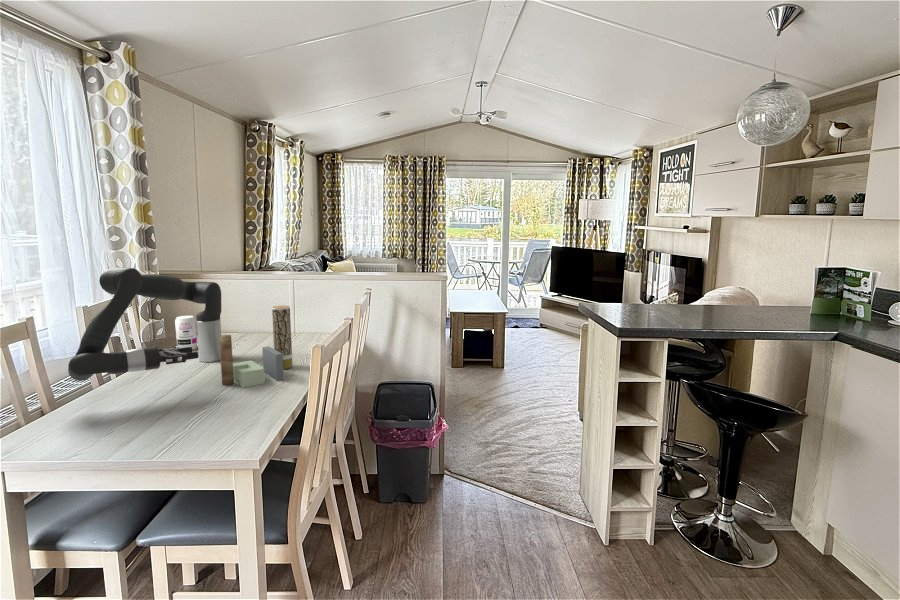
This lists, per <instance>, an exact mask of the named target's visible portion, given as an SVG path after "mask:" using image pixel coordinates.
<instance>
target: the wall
mask: <svg viewBox="0 0 900 600" xmlns="http://www.w3.org/2000/svg"><path fill="white" fill-rule="evenodd" d="M262 361H263V362H262V363H263V367H262V368H264V374H266V375H268V376H269V377H270V378H272V379H273V380H275V381H282V380H283V381H284V369H283V359H282V353H280V352H278V351H276V350H275V349H274V347H271V346H269V345H268V346H263V347H262Z"/></svg>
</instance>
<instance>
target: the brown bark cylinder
mask: <svg viewBox="0 0 900 600" xmlns="http://www.w3.org/2000/svg"><path fill="white" fill-rule="evenodd" d="M271 310H272V311H271V313H272V332H273V333H272V334H273V349H275V350H276V351H278V352H280V353H282V359H283V370H288V369H291V368H292V367H293V347H292V346H293V345H292V321H291V306H290V305H285V304H284V305H283V304H281V305H274V306H272V307H271Z"/></svg>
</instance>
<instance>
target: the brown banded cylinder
mask: <svg viewBox="0 0 900 600" xmlns="http://www.w3.org/2000/svg"><path fill="white" fill-rule="evenodd" d="M232 341H233V340H232V335H231V334H221V336H219V343H220V358H221V360H220V368H221V369H220V370H221V373H220V374H221V384H222V386H225V387H231V386H233V385H235V381H234V374H233V363H234V360H233V359H234V358H233V344H232Z"/></svg>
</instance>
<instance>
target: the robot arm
mask: <svg viewBox="0 0 900 600" xmlns="http://www.w3.org/2000/svg"><path fill="white" fill-rule="evenodd" d="M98 281H99V285H100V287H101V289H102V290H103V291H104V292H106V293H108V294H110V295H113V297H112V298H111V299H110V301H109V302H108V303H107V304H106V305H105V306H104V308H102V309H101V311H99V312H98V313H97V314H96V315H95V316H94V317H93V318H92V319H91V321H90V322H89V323H88V325H87V327H86V329H85V331H84V333H83V335H82V337H81V340H80V343H79V347H78V348H77V351H76V353H75V355H74V356H73V357H71V359H70V360H69V362H68V366H67V367H68V368H67V370H68V371H67V372H68V375H69V376H70V377H71V378H72V379H73V380H75V381H78V382H81V381H86V380H88V379H90V378H91V377H92V376H94V375H97V374H105V373H106V374H108V375H116V374H125V373H131V372H132V373H134V372H135V373H136V372H142V371H143V372H144V371H151V370H156V369H157V370H158V369H159V368H161V363H165V365H167V366H168V365H173V364H180V363H181V364H182V363H186V362H187V360H189V361H190V360H193V359H198V360H199V362H202V363H212V362H218V361H221V358H220V343H219V336H221V335H222V326H221V325H222V323H221V314H222V289H221V286H220V284H219V283H217V282H214V281H186V280H185V281H184V280H182V279H181V278H179V277H177V276H173V275H166V274H158V273H157V274H149V273H148V274H142V273H141V272H140V271H139V270H138V269H136V268H134V267H111V268H109V269H107V270H105V271H103V272H102V273H101V274H100V276H99V280H98ZM136 296H141V297H145V298H150V299H151V298H152V299H158V300H165V301H179V300H184V301H188V302H192V303H196V304H201V305H202V304H203V305H204V310H202V311H199V312H198V313H196V314H195V322H196V336H197V349H198V351H194V350H192V347H185V348H179V347H178V348H177V346H172V347H165V348H158V346H147V347H140V348H139V347H138V348H132V349H128V350H122V351H120V350H119V351H112V352H104V350H105V348H106V347H107V345H108V343H109V341H110V339H111V336H112V334H113V332H114V329H115V328H116V327H117V324H118V322H119V321H120V319H121V318H122V316H123V315H124V313H125V312H126V311H127V309H128V307H129V306H130V305H131V303H132V302H133V300H134V299H135V297H136Z"/></svg>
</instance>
